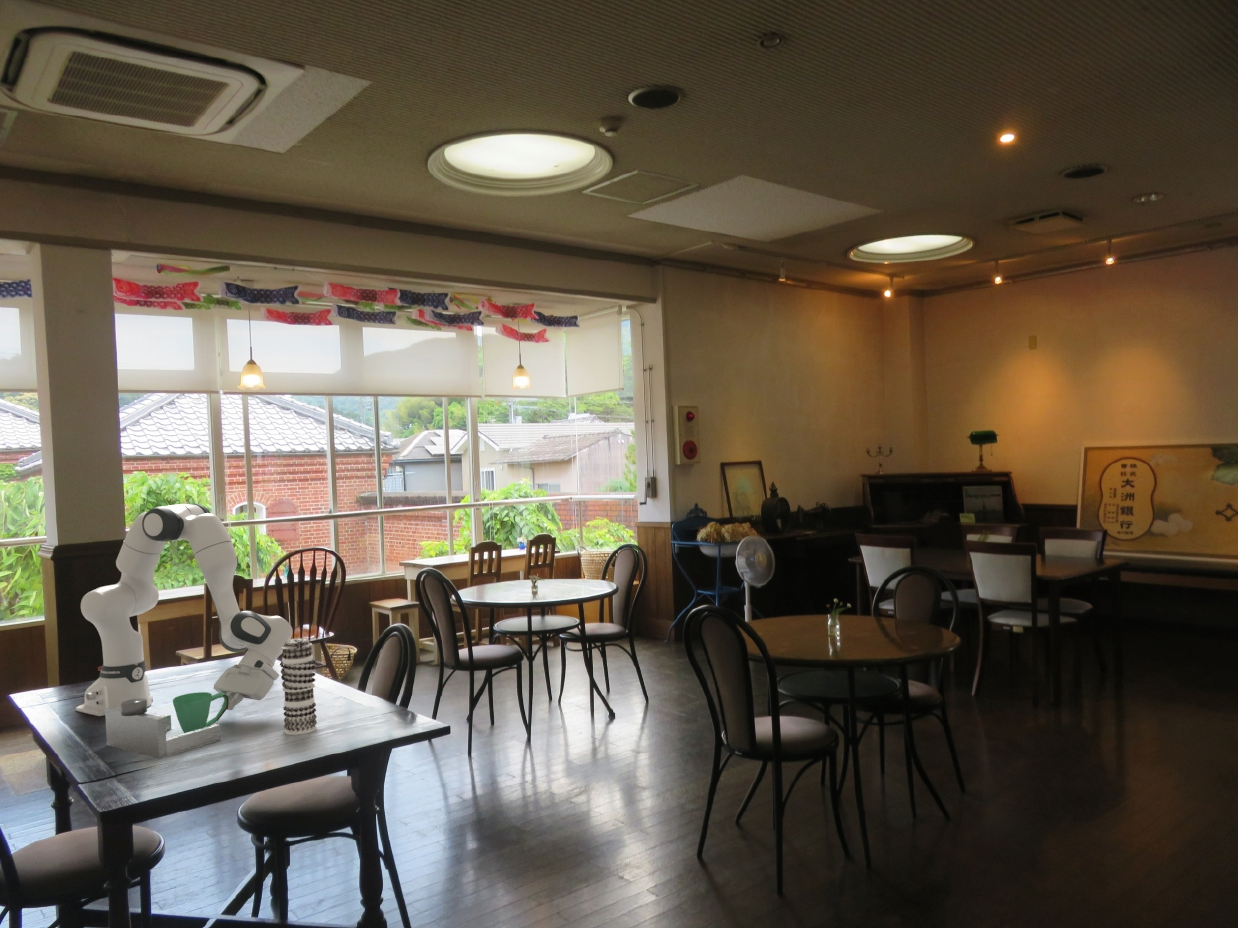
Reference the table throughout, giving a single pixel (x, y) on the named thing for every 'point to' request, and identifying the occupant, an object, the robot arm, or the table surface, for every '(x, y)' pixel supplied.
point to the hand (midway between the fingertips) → (226, 708)
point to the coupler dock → (150, 731)
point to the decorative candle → (298, 687)
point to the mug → (197, 709)
